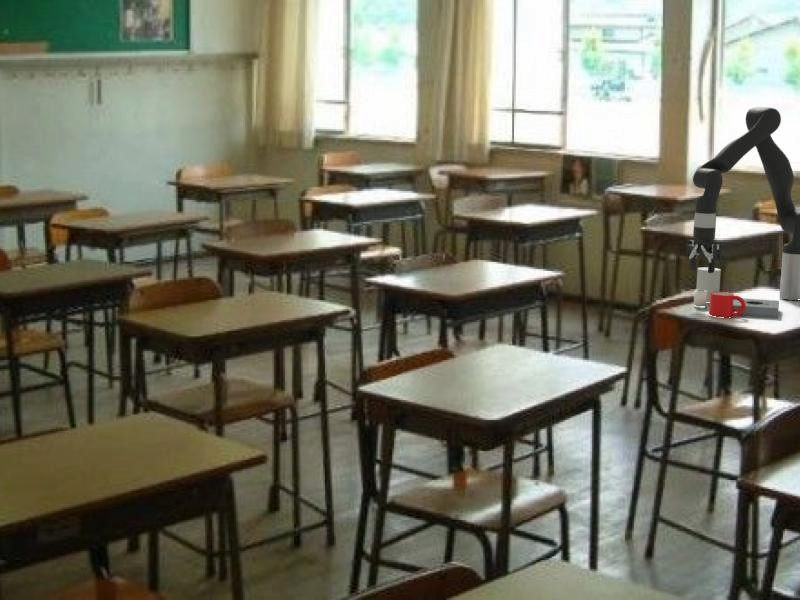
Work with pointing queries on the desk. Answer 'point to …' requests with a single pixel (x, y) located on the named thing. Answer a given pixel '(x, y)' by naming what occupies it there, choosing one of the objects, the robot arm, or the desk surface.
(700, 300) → the bushing
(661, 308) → the desk surface
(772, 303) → the block
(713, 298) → the mug
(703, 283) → the cup
